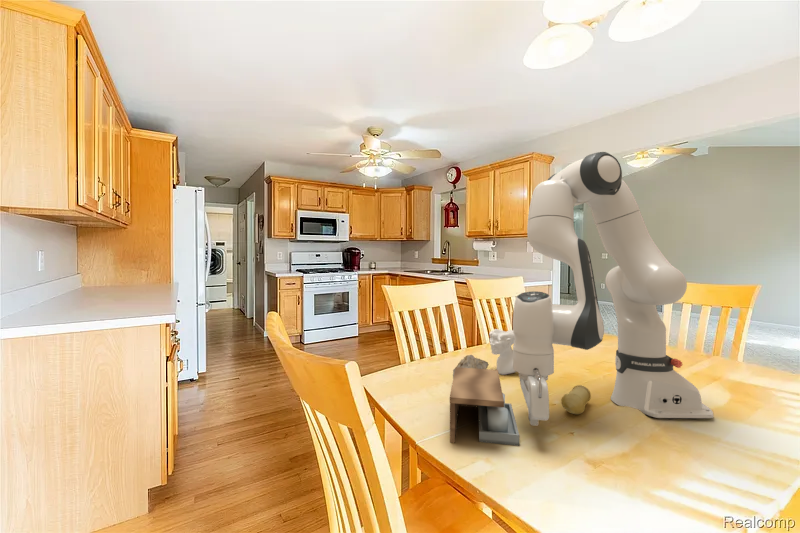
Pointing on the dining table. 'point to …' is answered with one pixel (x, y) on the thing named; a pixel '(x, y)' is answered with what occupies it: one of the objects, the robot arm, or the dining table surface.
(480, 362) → the rock
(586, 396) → the potato
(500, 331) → the small white figurine
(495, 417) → the pillar candle
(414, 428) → the dining table surface
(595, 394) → the dining table surface
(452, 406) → the counter
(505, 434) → the tray
